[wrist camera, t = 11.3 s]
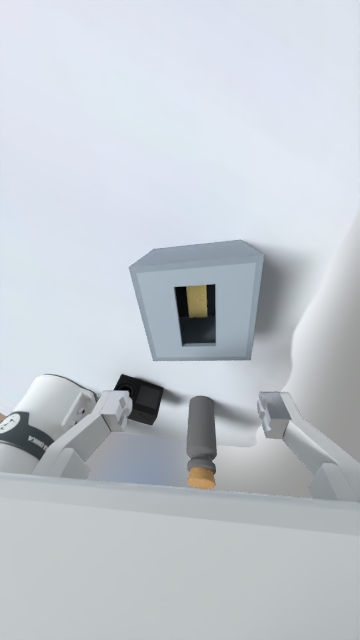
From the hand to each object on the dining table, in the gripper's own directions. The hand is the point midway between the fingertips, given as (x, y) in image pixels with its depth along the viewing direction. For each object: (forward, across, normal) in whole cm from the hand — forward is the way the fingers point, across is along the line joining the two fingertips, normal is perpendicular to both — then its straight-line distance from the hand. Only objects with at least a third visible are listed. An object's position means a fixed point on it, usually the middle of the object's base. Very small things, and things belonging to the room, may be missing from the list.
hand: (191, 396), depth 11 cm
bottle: (+20, 0, -29) cm, 36 cm away
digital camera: (+20, -14, -23) cm, 34 cm away
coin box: (+19, 0, +1) cm, 19 cm away
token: (+19, 0, +1) cm, 19 cm away
